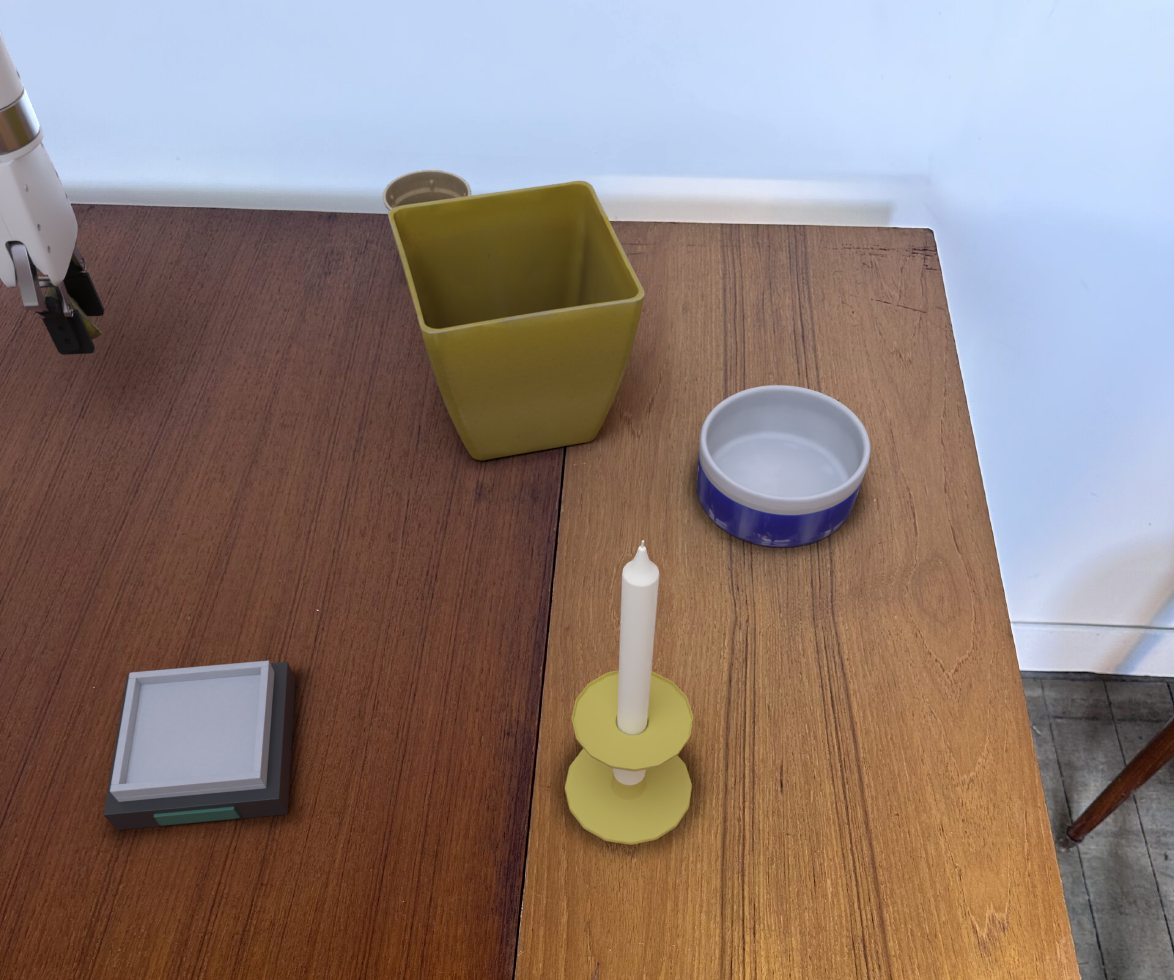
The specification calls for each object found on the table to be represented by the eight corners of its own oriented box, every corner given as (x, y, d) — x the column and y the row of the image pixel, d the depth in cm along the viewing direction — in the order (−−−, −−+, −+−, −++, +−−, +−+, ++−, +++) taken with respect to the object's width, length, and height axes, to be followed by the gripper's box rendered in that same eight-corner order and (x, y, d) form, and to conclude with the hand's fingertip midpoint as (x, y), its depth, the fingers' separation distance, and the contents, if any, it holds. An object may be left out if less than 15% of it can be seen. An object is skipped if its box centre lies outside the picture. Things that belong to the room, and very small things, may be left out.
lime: (75, 318, 93) (51, 267, 89) (119, 329, 92) (98, 278, 88) (47, 345, 91) (22, 295, 87) (92, 356, 90) (69, 306, 86)
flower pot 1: (493, 258, 112) (486, 180, 105) (454, 304, 108) (444, 226, 100) (422, 239, 114) (410, 161, 107) (381, 283, 110) (365, 205, 102)
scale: (116, 833, 74) (93, 807, 71) (139, 693, 81) (118, 663, 78) (287, 817, 75) (272, 791, 72) (295, 679, 82) (282, 649, 78)
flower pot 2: (589, 338, 104) (589, 175, 90) (640, 456, 95) (648, 295, 81) (415, 369, 102) (385, 206, 88) (449, 493, 93) (422, 334, 78)
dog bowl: (862, 553, 88) (878, 503, 83) (693, 546, 89) (699, 496, 84) (849, 439, 96) (864, 386, 91) (695, 433, 97) (700, 381, 92)
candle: (592, 719, 79) (590, 458, 56) (708, 756, 78) (757, 502, 54) (544, 820, 75) (522, 580, 52) (667, 862, 73) (701, 633, 50)
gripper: (-41, 70, 80) (57, 282, 96) (-94, 180, 71) (24, 393, 87) (53, 68, 81) (136, 279, 96) (12, 177, 72) (110, 389, 87)
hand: (82, 331), depth 91 cm, fingers closed on lime, 5 cm apart
